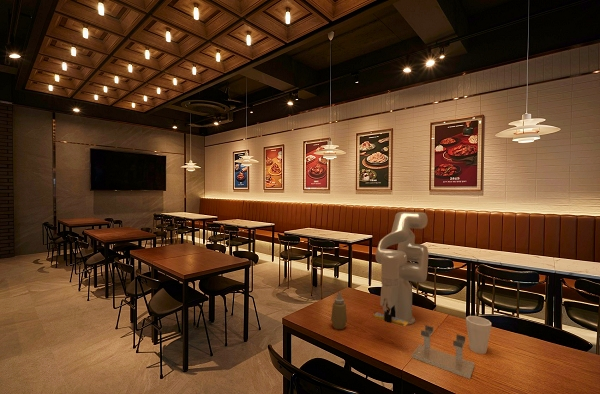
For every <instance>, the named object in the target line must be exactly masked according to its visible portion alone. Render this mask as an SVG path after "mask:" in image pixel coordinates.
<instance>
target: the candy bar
mask: <svg viewBox="0 0 600 394" xmlns="http://www.w3.org/2000/svg"><path fill="white" fill-rule="evenodd" d="M371 316H372V317H373V318H376V319H378V320H382V321H384V313H379V312H377V311H373V312H372V315H371ZM408 323H409V322H406V321H404V320H401V319H398V318H395V317H392V322H391V323H390V324H394V325H397V326H398V325H399V326H404V327H406V326H407V325H409V324H408Z"/></svg>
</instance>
